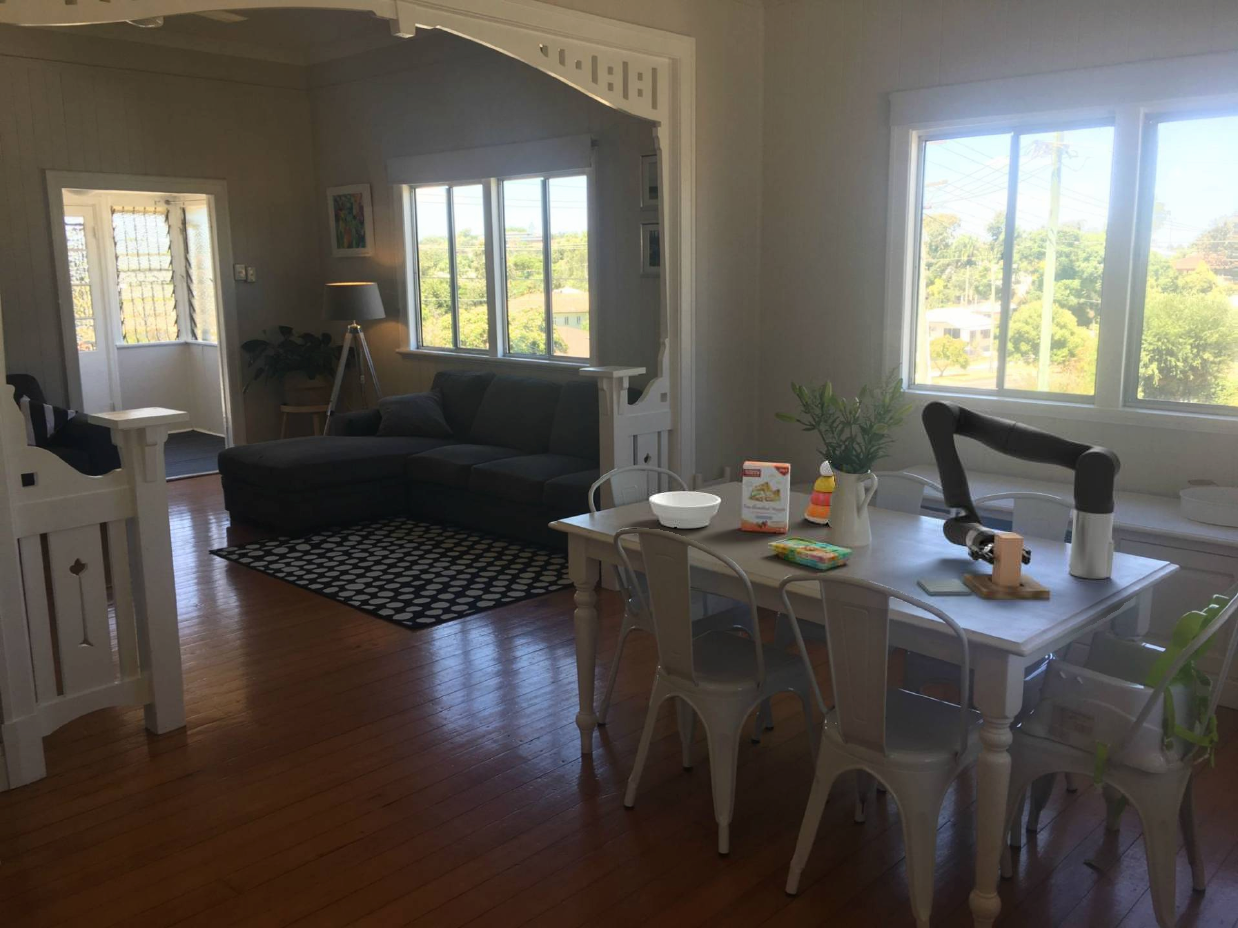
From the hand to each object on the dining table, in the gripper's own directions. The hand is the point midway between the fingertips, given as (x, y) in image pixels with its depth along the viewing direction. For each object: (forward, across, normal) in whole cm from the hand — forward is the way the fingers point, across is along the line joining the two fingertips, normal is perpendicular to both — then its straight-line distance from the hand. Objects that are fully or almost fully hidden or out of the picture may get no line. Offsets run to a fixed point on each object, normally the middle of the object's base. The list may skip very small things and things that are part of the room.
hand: (1010, 560), depth 246 cm
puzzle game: (-30, -43, +9) cm, 53 cm away
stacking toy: (-75, -28, +8) cm, 80 cm away
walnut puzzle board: (-2, 0, +8) cm, 8 cm away
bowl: (-71, -74, +8) cm, 103 cm away
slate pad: (-3, -15, +8) cm, 17 cm away
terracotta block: (-2, 0, +8) cm, 8 cm away
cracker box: (-63, -50, +8) cm, 81 cm away
